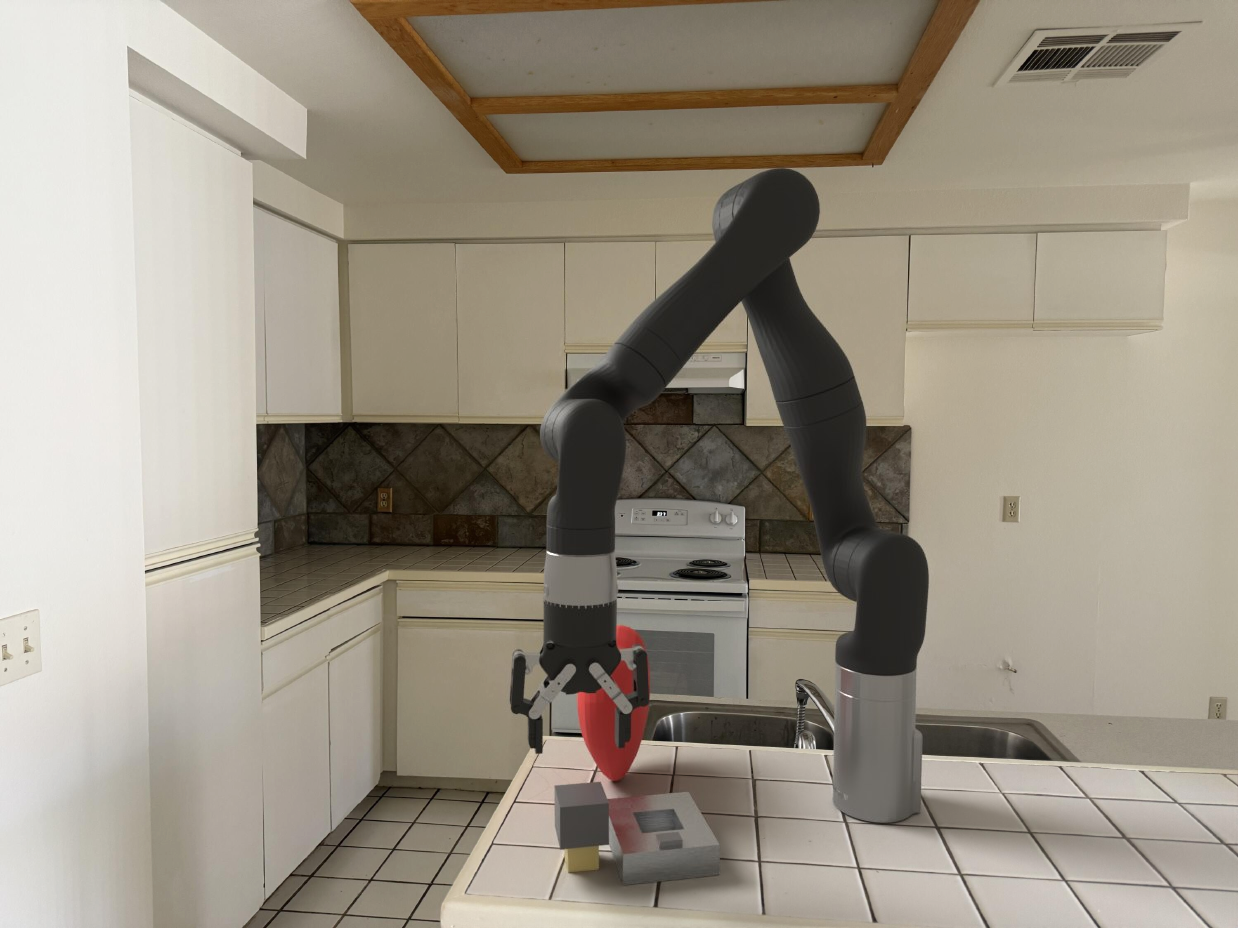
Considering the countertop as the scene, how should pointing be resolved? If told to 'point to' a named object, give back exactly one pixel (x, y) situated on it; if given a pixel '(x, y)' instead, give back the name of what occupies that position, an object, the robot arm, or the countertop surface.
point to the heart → (612, 717)
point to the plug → (581, 823)
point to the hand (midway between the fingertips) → (579, 748)
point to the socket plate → (661, 839)
